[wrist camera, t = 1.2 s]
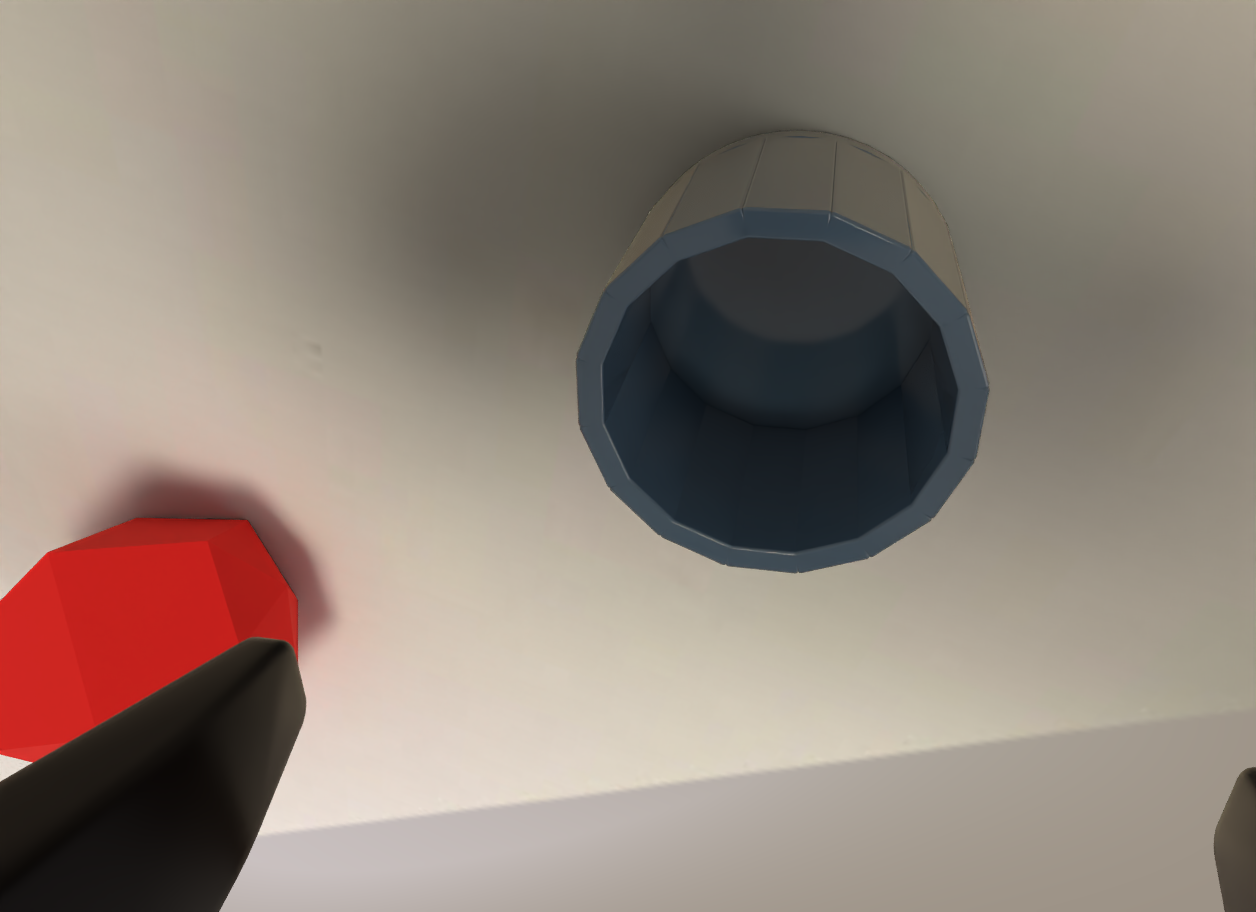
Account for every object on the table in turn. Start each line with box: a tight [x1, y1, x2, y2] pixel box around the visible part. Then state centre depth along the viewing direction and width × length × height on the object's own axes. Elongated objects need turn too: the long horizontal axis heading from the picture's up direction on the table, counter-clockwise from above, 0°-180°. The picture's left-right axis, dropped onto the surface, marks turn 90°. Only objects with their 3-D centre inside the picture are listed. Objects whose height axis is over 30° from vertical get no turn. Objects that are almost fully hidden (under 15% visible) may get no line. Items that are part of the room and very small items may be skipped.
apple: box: [0, 518, 298, 762], centre depth 24 cm, size 7×7×8 cm
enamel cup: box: [576, 130, 989, 573], centre depth 18 cm, size 6×6×5 cm
